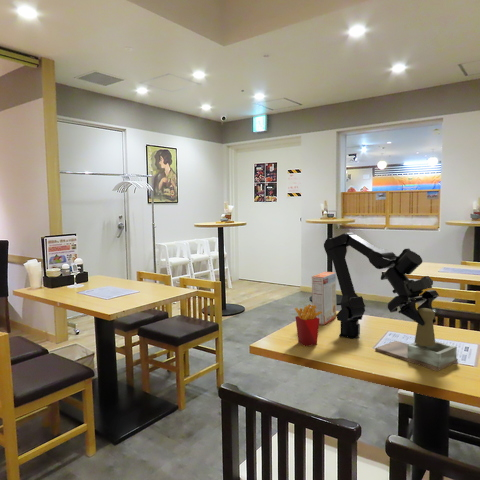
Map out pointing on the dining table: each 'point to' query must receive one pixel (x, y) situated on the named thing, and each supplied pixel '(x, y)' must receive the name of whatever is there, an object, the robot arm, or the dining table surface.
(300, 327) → the french fries
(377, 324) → the dining table surface
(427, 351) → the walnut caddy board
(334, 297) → the cracker box
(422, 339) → the cork
